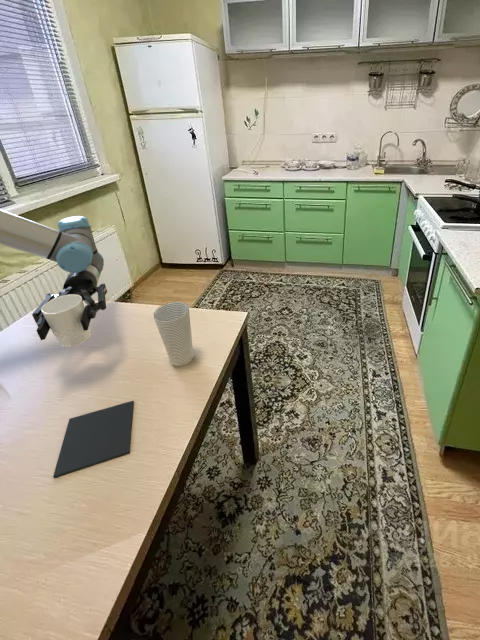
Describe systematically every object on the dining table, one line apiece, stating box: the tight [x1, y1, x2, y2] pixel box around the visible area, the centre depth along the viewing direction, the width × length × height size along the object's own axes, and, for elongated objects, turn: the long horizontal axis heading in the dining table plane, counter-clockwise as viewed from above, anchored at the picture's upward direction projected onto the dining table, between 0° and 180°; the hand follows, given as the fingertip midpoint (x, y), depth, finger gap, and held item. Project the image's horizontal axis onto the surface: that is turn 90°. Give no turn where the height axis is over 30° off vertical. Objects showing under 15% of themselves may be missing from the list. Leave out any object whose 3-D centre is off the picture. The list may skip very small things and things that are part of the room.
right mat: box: [52, 400, 135, 479], centre depth 67 cm, size 13×13×1 cm
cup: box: [153, 301, 194, 367], centre depth 84 cm, size 8×8×16 cm
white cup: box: [41, 294, 92, 348], centre depth 76 cm, size 8×8×10 cm
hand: (62, 330), depth 71 cm, fingers closed on white cup, 8 cm apart
